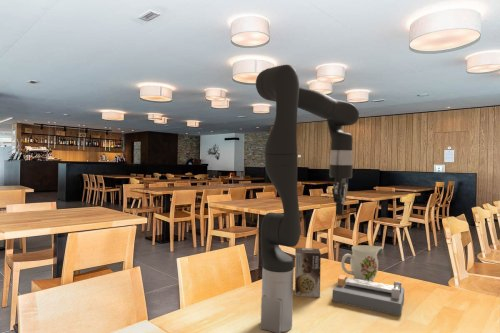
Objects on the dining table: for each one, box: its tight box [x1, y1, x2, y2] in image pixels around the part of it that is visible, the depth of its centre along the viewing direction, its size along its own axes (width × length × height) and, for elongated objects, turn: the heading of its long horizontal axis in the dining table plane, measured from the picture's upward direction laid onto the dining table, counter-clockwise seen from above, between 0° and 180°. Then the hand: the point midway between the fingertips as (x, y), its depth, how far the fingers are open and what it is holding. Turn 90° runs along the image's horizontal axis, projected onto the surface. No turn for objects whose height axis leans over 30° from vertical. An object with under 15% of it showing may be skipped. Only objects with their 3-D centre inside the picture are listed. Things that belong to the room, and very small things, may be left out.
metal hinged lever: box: [345, 276, 400, 293], centre depth 120 cm, size 6×18×2 cm, turn 62°
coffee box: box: [294, 247, 322, 298], centre depth 125 cm, size 9×6×16 cm
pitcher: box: [340, 244, 384, 282], centre depth 141 cm, size 11×18×14 cm, turn 99°
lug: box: [337, 274, 348, 286], centre depth 125 cm, size 5×2×2 cm, turn 152°
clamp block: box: [331, 276, 405, 317], centre depth 121 cm, size 16×22×7 cm
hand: (339, 214), depth 116 cm, fingers closed
